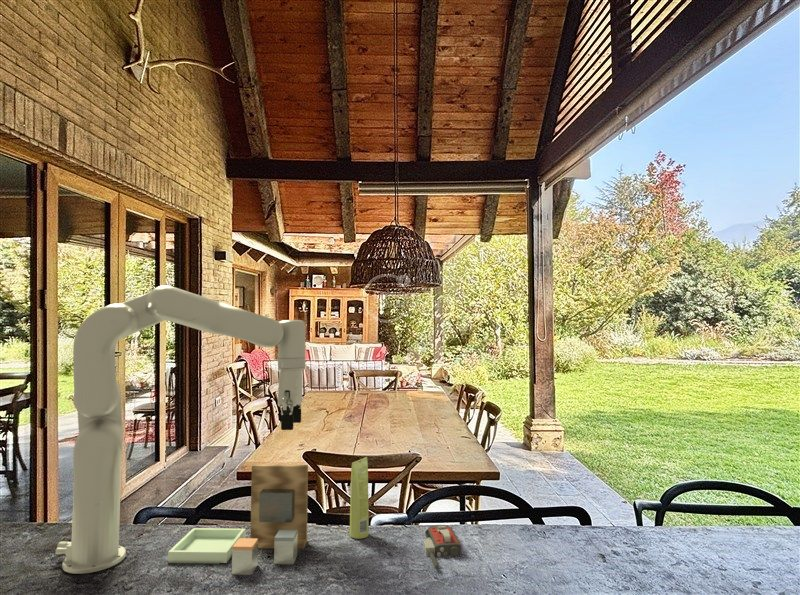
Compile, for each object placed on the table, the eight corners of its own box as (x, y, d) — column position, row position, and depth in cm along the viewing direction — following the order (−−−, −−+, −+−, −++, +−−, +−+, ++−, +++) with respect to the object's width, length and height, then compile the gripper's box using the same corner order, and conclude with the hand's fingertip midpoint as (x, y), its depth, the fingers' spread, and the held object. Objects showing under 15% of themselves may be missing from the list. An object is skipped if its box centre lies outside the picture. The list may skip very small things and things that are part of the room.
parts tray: (167, 562, 116) (168, 551, 116) (193, 538, 130) (193, 528, 130) (226, 563, 116) (226, 552, 116) (245, 538, 129) (245, 528, 129)
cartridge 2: (274, 564, 116) (274, 537, 116) (278, 555, 120) (279, 529, 120) (293, 564, 116) (293, 537, 116) (297, 555, 120) (297, 529, 120)
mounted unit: (246, 549, 123) (248, 469, 124) (252, 540, 128) (254, 463, 129) (303, 549, 123) (304, 469, 124) (307, 541, 128) (308, 464, 129)
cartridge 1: (231, 574, 111) (232, 546, 111) (238, 565, 115) (239, 538, 116) (251, 574, 111) (252, 546, 111) (257, 565, 115) (258, 538, 115)
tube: (348, 531, 134) (348, 457, 135) (366, 530, 135) (367, 456, 136) (351, 540, 128) (351, 462, 129) (370, 538, 129) (371, 461, 131)
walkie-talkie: (417, 536, 132) (432, 574, 112) (417, 519, 132) (432, 553, 112) (450, 535, 133) (470, 572, 113) (450, 518, 133) (470, 551, 113)
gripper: (285, 361, 149) (285, 420, 148) (269, 366, 132) (269, 432, 131) (311, 361, 149) (311, 420, 148) (298, 366, 132) (298, 432, 131)
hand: (291, 426), depth 139 cm, fingers open, 9 cm apart
